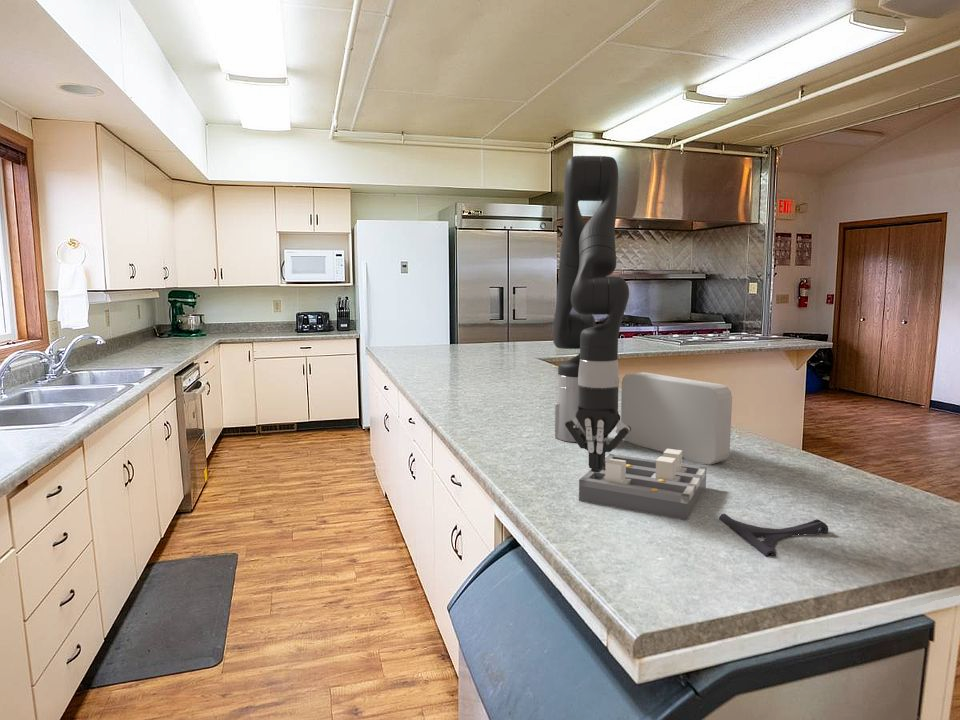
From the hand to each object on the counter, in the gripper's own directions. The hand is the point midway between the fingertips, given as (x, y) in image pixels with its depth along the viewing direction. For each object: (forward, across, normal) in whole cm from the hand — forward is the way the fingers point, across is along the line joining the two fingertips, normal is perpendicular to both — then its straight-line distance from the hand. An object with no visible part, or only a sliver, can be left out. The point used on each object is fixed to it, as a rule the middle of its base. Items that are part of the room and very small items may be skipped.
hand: (596, 470), depth 115 cm
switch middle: (+2, +12, +6) cm, 13 cm away
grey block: (+6, +5, +39) cm, 40 cm away
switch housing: (+5, +8, +6) cm, 11 cm away
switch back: (+2, +12, +12) cm, 17 cm away
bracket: (+6, +33, -2) cm, 33 cm away
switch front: (+2, +4, 0) cm, 4 cm away
